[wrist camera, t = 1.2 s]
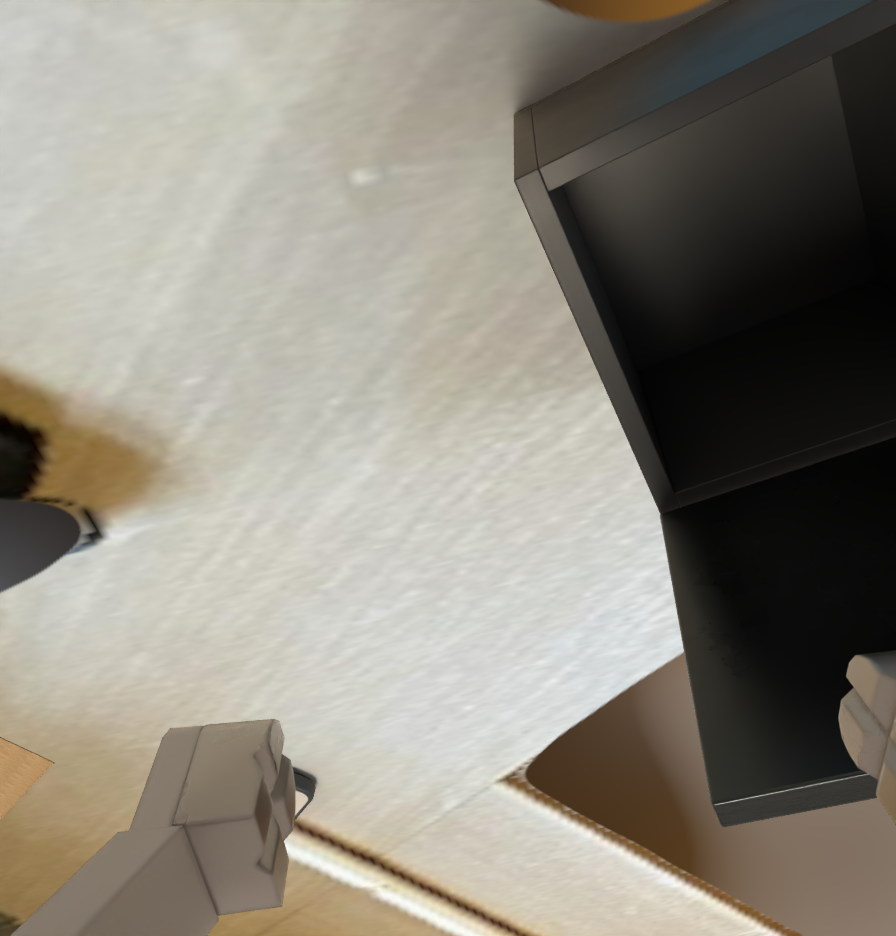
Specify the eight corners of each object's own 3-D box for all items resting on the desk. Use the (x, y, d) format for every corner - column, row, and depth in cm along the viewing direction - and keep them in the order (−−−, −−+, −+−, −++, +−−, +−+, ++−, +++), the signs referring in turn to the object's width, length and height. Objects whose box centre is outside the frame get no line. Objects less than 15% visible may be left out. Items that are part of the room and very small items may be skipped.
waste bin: (513, 114, 36) (513, 180, 26) (827, -52, 32) (977, -51, 21) (625, 382, 43) (660, 514, 33) (891, 279, 39) (1025, 395, 29)
